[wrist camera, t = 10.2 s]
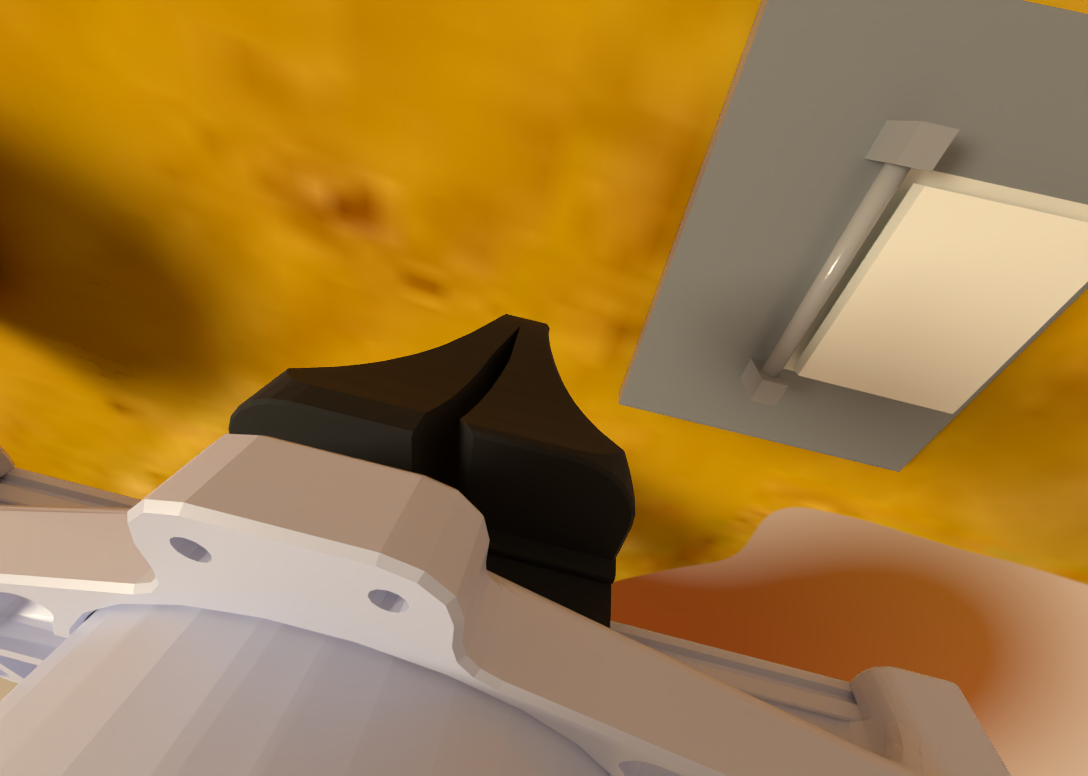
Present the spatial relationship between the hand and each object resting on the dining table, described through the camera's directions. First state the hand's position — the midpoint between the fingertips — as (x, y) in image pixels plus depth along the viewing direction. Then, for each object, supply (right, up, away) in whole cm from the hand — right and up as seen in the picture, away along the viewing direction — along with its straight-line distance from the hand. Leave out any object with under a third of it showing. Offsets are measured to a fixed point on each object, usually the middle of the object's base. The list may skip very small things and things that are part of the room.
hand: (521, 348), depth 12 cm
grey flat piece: (+14, +4, +6) cm, 16 cm away
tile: (+16, +2, +4) cm, 17 cm away
